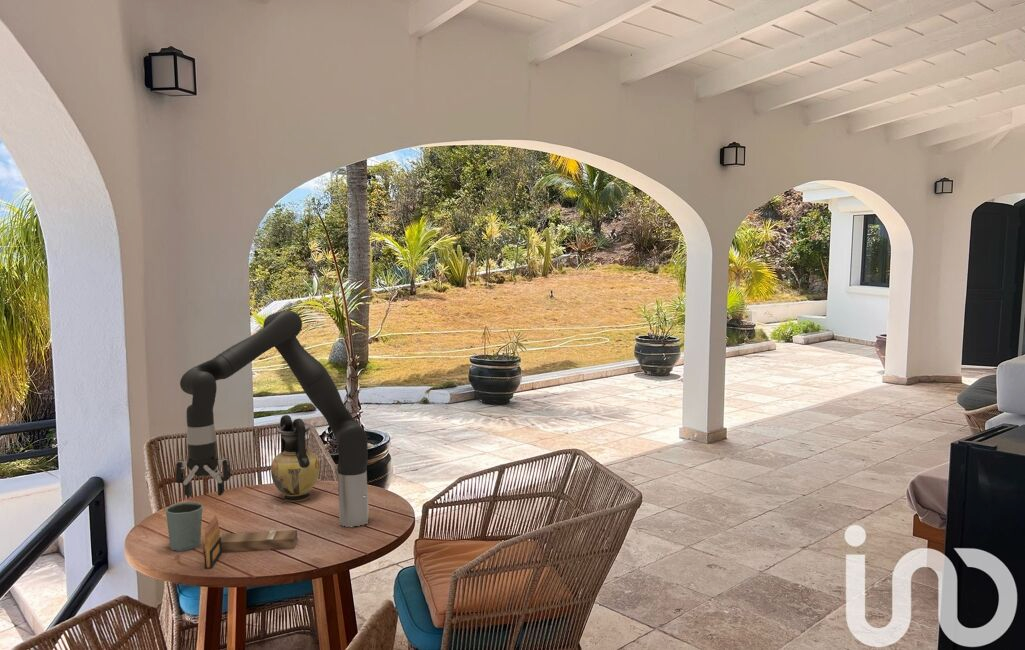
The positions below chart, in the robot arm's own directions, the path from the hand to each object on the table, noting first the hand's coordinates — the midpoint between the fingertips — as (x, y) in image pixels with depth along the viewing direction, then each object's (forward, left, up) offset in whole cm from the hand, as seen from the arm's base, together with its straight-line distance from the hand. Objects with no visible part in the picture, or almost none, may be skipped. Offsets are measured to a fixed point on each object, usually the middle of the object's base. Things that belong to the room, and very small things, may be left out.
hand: (204, 495), depth 210 cm
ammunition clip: (-1, 0, -20) cm, 20 cm away
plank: (-10, -10, -20) cm, 24 cm away
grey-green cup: (+10, -13, -20) cm, 26 cm away
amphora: (-16, -53, -20) cm, 59 cm away
